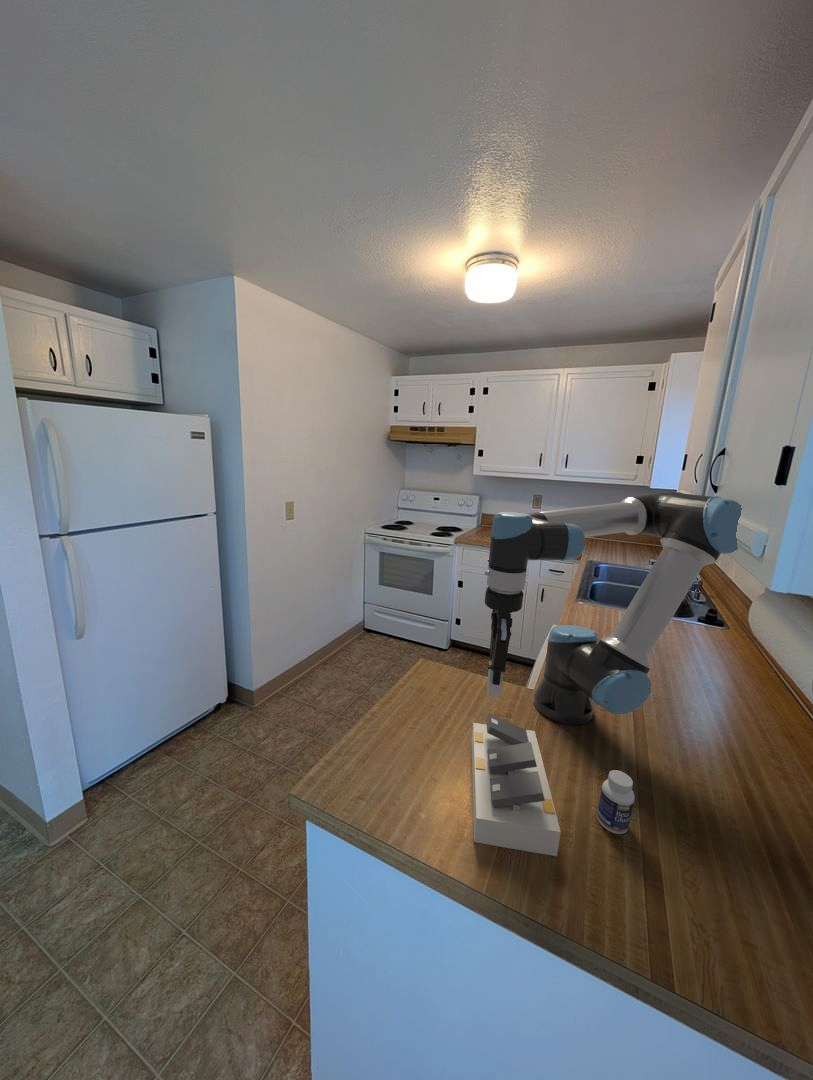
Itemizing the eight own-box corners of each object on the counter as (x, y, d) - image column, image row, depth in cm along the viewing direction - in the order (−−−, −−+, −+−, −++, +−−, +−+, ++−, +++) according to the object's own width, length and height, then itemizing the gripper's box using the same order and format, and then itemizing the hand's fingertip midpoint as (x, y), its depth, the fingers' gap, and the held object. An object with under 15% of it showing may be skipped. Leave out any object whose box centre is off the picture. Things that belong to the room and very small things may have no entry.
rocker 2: (532, 748, 83) (530, 741, 83) (536, 766, 78) (534, 758, 78) (489, 755, 85) (487, 748, 84) (490, 773, 80) (488, 766, 80)
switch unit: (532, 750, 95) (535, 726, 93) (556, 856, 69) (561, 826, 68) (471, 741, 96) (473, 718, 95) (473, 842, 71) (477, 812, 70)
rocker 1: (522, 735, 91) (526, 729, 91) (526, 751, 87) (529, 744, 86) (485, 718, 92) (489, 712, 91) (487, 732, 87) (490, 726, 87)
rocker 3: (539, 778, 75) (537, 770, 75) (545, 800, 70) (542, 792, 70) (491, 785, 77) (489, 777, 77) (493, 807, 72) (491, 799, 72)
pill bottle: (614, 839, 73) (623, 793, 71) (590, 815, 78) (597, 771, 76) (635, 829, 75) (644, 784, 73) (610, 806, 80) (618, 763, 78)
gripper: (484, 576, 91) (475, 672, 95) (488, 598, 76) (476, 710, 81) (518, 579, 90) (507, 676, 94) (529, 602, 75) (515, 716, 80)
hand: (493, 692), depth 88 cm, fingers open, 2 cm apart
